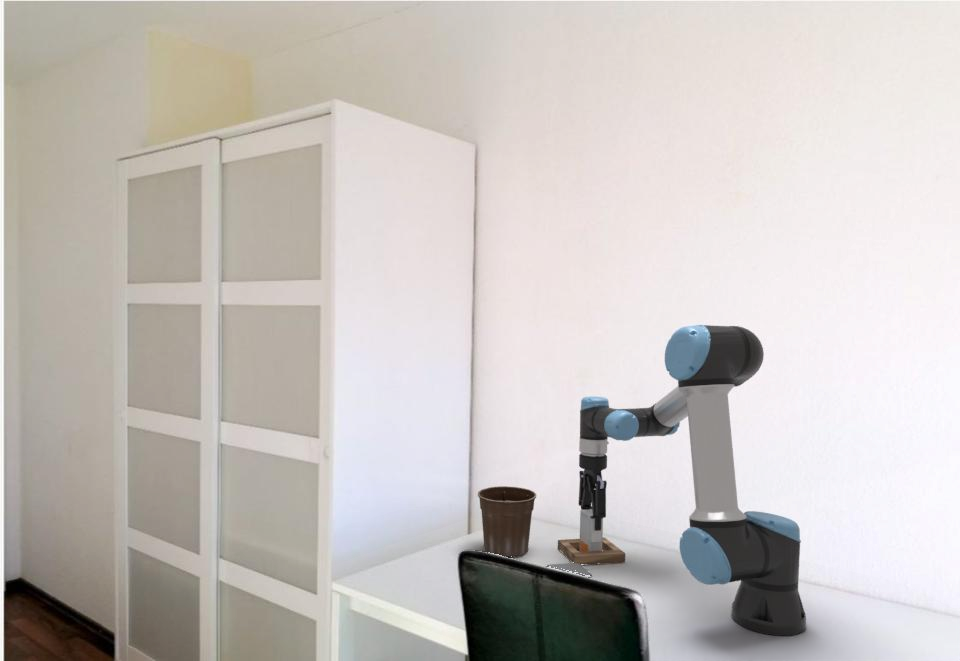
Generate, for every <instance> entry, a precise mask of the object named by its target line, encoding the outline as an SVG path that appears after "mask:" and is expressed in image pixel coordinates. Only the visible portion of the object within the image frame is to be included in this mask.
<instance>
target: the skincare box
mask: <svg viewBox="0 0 960 661" xmlns="http://www.w3.org/2000/svg"><path fill="white" fill-rule="evenodd" d="M579 514H580V515H579V516H580V518H579V539H580V549H579V551H578V552H591V551H603V550H602V538H603V534H604V531H603V530H604V527H603V526H604V518H602V530H601V542H591V516H593V511H592V509H587V510H581V509H580V513H579Z"/></svg>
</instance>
